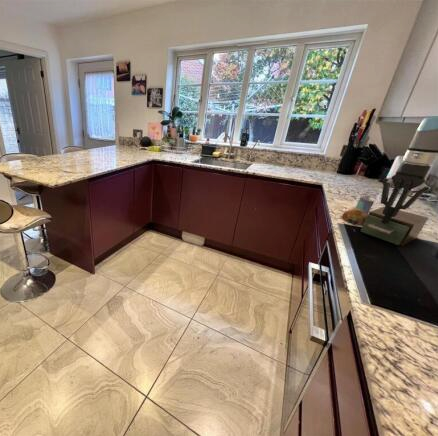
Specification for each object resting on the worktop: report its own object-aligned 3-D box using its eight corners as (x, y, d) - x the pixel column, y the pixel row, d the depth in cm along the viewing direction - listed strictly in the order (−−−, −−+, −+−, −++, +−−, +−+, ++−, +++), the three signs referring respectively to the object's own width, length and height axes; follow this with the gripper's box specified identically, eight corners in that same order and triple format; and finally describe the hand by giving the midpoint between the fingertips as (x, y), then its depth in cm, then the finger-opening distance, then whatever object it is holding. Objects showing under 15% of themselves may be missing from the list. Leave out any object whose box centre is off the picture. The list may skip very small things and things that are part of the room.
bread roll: (365, 231, 111) (377, 217, 109) (355, 225, 107) (368, 210, 105) (344, 222, 120) (355, 209, 118) (334, 216, 116) (345, 202, 113)
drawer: (393, 248, 89) (403, 229, 86) (354, 233, 99) (362, 216, 96) (412, 237, 97) (422, 220, 94) (375, 225, 107) (382, 209, 104)
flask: (367, 218, 117) (377, 198, 113) (360, 217, 118) (369, 197, 114) (357, 211, 126) (366, 192, 121) (351, 210, 126) (359, 192, 122)
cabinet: (401, 246, 92) (414, 224, 88) (359, 231, 103) (369, 211, 99) (416, 238, 99) (428, 217, 95) (375, 225, 110) (385, 206, 106)
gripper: (387, 160, 86) (360, 218, 96) (439, 168, 76) (402, 231, 86) (396, 159, 89) (368, 215, 99) (446, 166, 79) (410, 227, 89)
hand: (384, 222), depth 92 cm, fingers closed
